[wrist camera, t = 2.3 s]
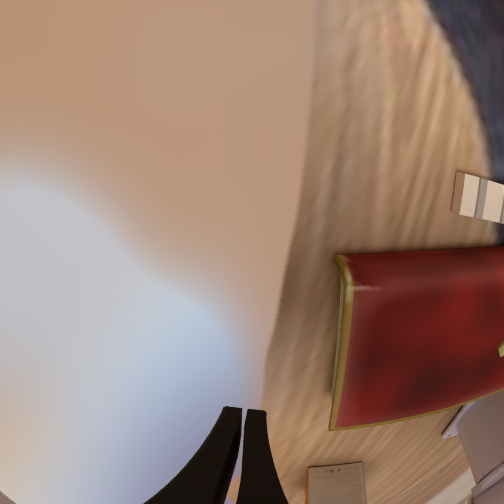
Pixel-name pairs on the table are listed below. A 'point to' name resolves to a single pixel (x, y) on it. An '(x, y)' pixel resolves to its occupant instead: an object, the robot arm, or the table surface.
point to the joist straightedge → (478, 198)
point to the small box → (336, 485)
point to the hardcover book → (417, 334)
